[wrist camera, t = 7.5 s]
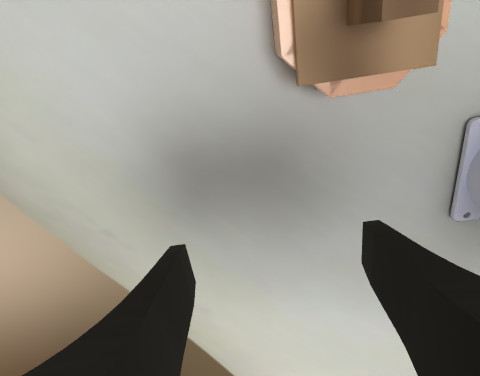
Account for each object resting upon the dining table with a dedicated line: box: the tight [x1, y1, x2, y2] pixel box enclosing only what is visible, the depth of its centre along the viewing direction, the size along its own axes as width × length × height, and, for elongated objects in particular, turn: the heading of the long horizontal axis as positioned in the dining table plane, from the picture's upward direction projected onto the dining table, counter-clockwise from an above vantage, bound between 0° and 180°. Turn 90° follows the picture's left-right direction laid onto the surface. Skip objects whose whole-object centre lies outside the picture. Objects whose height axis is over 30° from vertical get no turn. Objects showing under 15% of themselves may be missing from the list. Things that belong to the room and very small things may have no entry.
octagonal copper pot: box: [271, 0, 451, 97], centre depth 16 cm, size 8×8×3 cm
